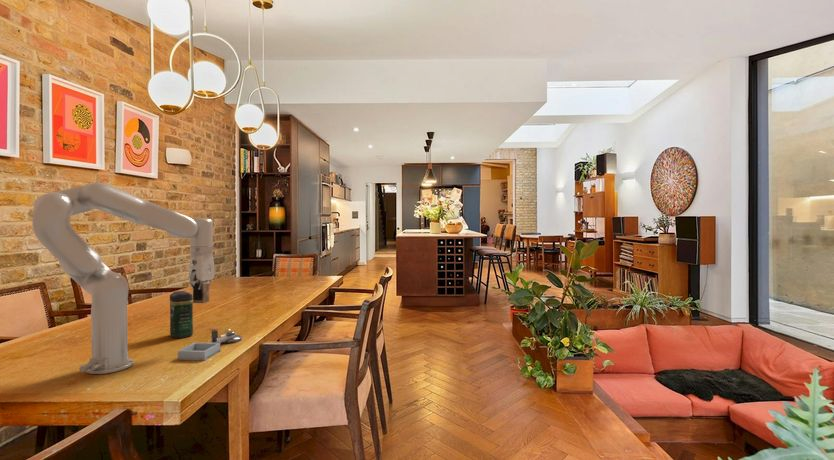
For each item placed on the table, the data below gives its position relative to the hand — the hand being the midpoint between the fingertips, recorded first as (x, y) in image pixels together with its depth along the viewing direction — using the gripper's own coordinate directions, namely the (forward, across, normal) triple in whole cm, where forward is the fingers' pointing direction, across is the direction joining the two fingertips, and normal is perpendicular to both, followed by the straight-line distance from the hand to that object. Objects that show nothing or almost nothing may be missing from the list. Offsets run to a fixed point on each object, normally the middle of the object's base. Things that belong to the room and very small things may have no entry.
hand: (201, 298), depth 157 cm
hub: (+19, +9, -7) cm, 22 cm away
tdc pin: (+19, +14, -4) cm, 24 cm away
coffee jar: (+19, +15, +16) cm, 29 cm away
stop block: (+1, 0, 0) cm, 1 cm away
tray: (+19, -9, -5) cm, 21 cm away
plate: (+19, +14, -4) cm, 24 cm away
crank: (+17, +5, -6) cm, 19 cm away
